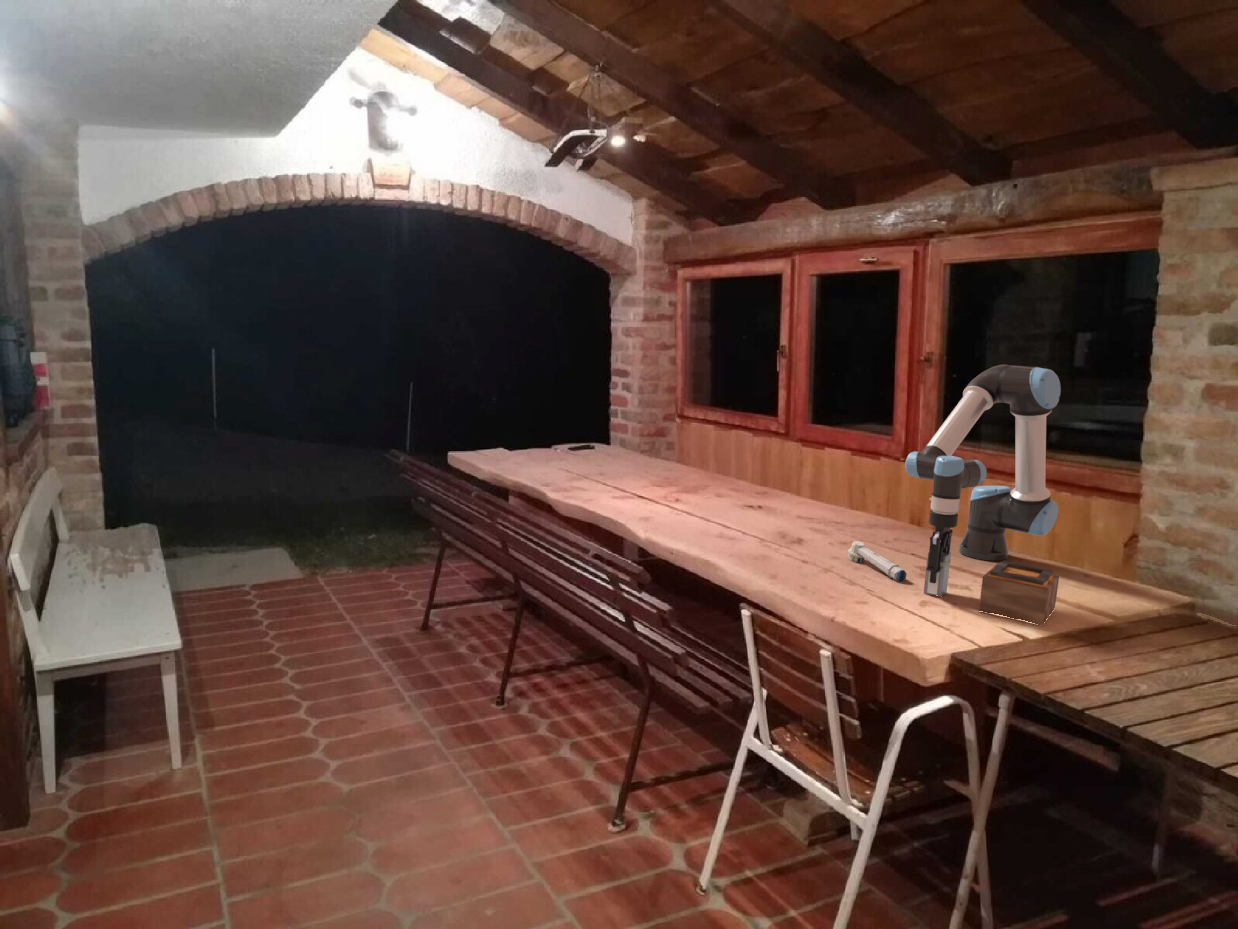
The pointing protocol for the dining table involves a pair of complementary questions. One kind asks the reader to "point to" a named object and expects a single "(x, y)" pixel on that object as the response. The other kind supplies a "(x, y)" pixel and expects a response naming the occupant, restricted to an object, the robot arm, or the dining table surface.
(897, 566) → the white plastic rod
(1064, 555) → the dining table surface
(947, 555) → the steel column
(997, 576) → the walnut stand
